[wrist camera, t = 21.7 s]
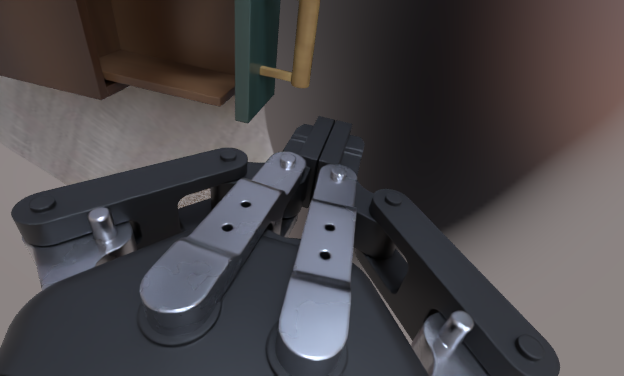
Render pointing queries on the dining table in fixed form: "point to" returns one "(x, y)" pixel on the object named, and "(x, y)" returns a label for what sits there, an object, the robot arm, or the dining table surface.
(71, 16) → the cabinet
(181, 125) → the dining table surface
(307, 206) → the robot arm
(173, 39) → the drawer
